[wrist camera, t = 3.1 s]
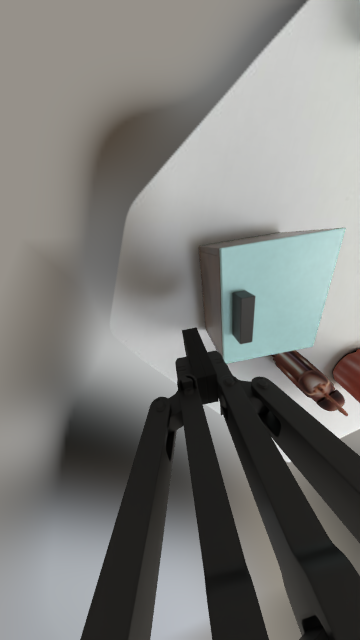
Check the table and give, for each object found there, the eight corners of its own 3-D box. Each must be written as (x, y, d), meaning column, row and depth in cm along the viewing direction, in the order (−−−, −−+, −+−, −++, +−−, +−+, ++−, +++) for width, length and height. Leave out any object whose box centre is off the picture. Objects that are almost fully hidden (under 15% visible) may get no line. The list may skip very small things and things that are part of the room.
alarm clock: (299, 359, 41) (368, 416, 27) (283, 371, 42) (342, 431, 29) (278, 336, 37) (346, 390, 23) (261, 349, 38) (317, 408, 24)
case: (198, 246, 27) (218, 248, 18) (280, 232, 27) (339, 228, 18) (205, 329, 34) (222, 361, 25) (269, 317, 34) (309, 344, 25)
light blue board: (219, 248, 17) (230, 249, 15) (340, 227, 18) (372, 225, 15) (222, 361, 25) (230, 376, 22) (309, 344, 25) (327, 356, 23)
